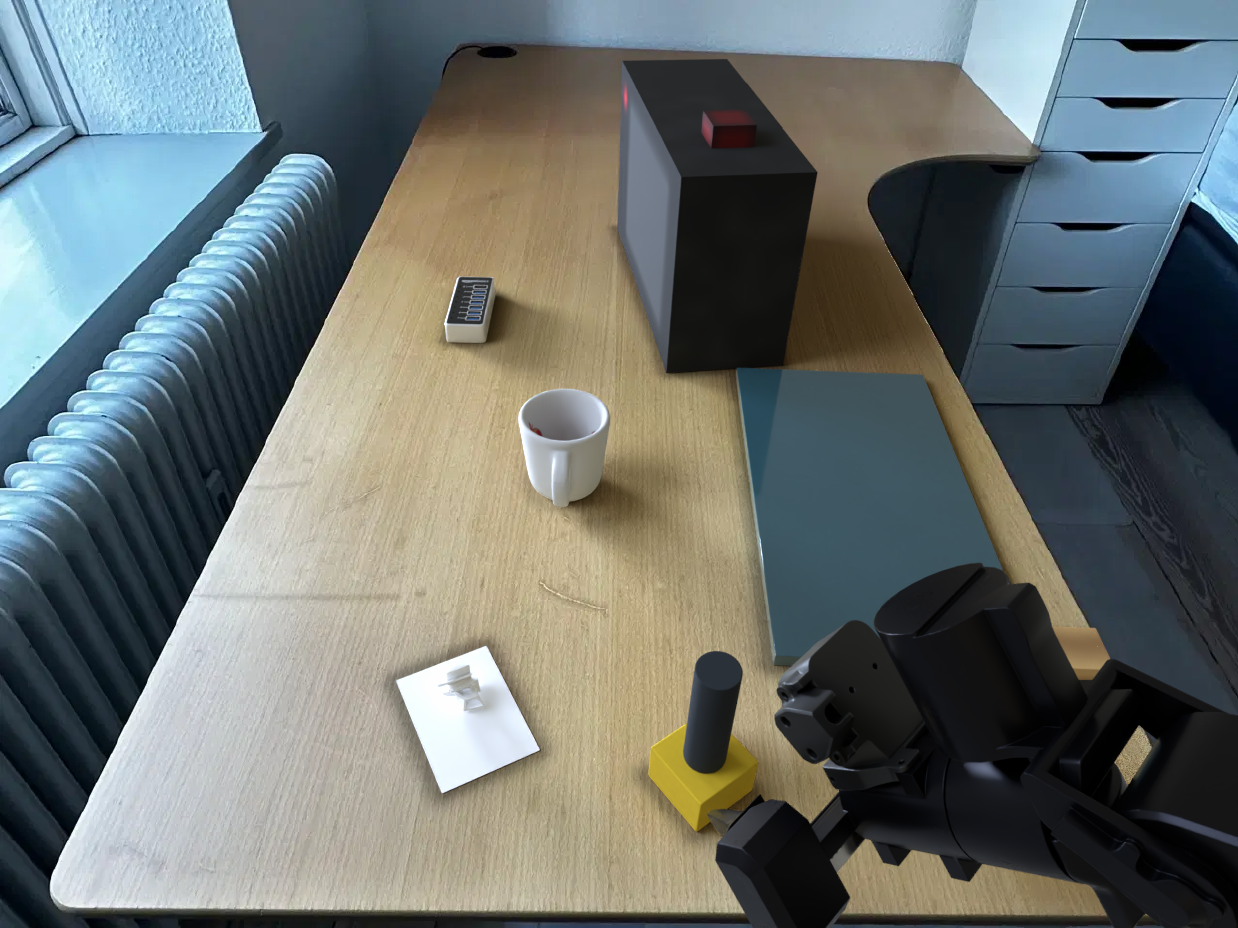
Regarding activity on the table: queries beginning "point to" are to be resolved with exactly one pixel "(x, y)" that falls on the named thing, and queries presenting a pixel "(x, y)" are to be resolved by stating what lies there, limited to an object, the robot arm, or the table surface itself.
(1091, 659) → the tan square block
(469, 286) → the multiport hub
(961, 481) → the plate
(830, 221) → the table surface
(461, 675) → the white plastic small piece
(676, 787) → the sponge wand
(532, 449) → the cup
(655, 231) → the speaker
